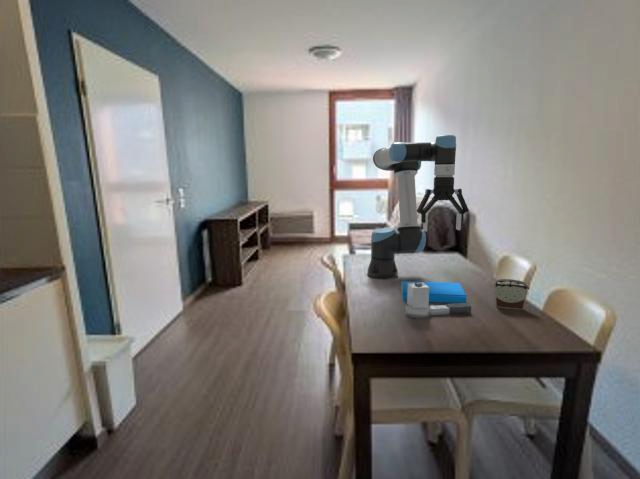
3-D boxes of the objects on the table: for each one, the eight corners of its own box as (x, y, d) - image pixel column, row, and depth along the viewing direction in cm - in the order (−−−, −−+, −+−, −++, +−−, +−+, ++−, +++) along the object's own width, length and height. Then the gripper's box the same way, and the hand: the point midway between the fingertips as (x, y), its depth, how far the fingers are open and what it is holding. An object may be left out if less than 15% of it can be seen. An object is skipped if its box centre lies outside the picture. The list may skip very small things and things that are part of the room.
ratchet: (402, 310, 146) (402, 292, 145) (462, 307, 148) (464, 290, 147) (409, 319, 138) (410, 300, 136) (474, 316, 140) (475, 298, 138)
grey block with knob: (407, 303, 145) (407, 281, 143) (422, 303, 145) (423, 280, 144) (412, 309, 139) (412, 286, 137) (428, 308, 139) (429, 285, 138)
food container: (524, 304, 151) (527, 280, 149) (527, 310, 145) (529, 284, 143) (490, 301, 155) (492, 277, 153) (491, 306, 149) (493, 281, 147)
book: (401, 280, 172) (459, 282, 168) (401, 289, 173) (459, 291, 169) (402, 293, 156) (467, 294, 151) (402, 303, 156) (466, 305, 152)
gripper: (416, 177, 144) (414, 232, 148) (479, 176, 146) (476, 230, 150) (409, 176, 151) (408, 229, 155) (470, 175, 154) (467, 227, 158)
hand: (441, 230), depth 153 cm, fingers open, 13 cm apart
